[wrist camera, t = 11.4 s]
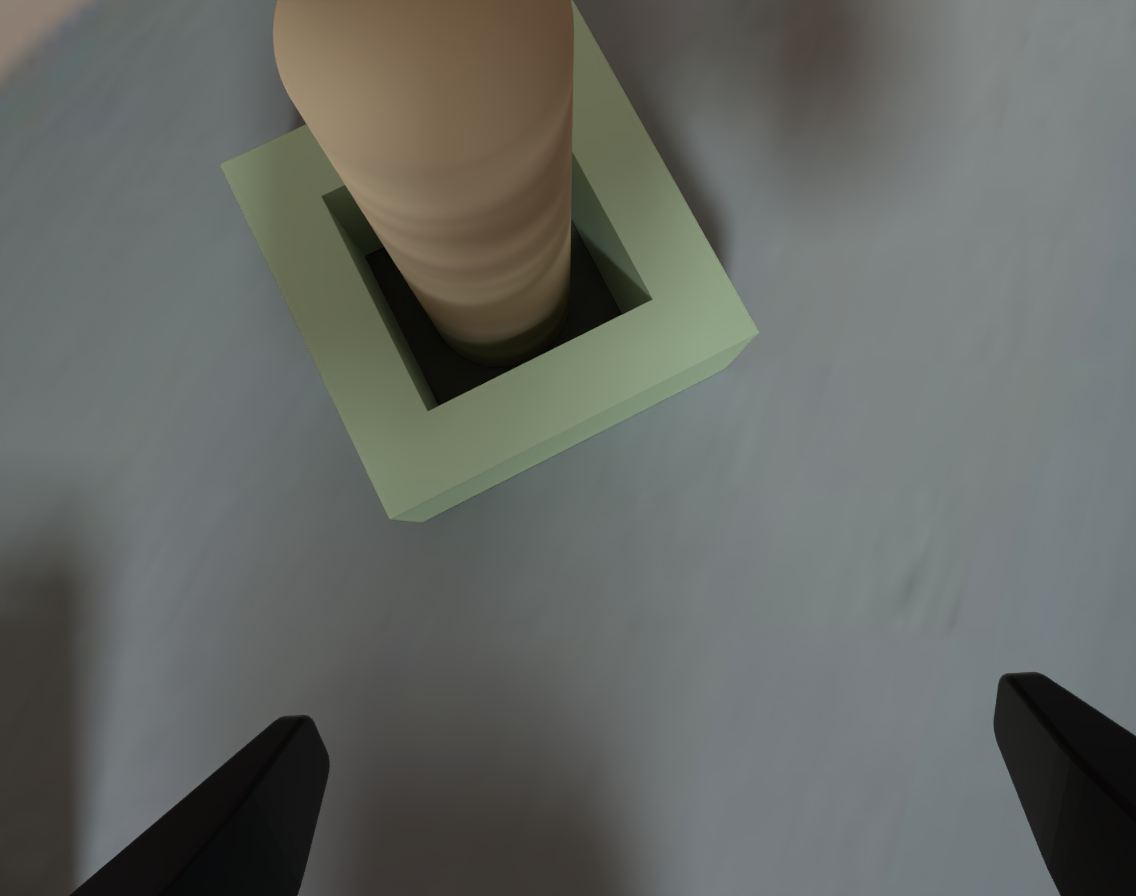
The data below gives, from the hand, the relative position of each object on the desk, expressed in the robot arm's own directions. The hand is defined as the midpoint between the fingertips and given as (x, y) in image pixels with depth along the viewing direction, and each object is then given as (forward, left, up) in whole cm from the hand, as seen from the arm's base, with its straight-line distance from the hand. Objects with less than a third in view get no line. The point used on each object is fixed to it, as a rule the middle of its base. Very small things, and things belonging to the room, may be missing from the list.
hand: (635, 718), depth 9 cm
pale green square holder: (+2, +10, -12) cm, 16 cm away
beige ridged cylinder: (+2, +10, -12) cm, 16 cm away
